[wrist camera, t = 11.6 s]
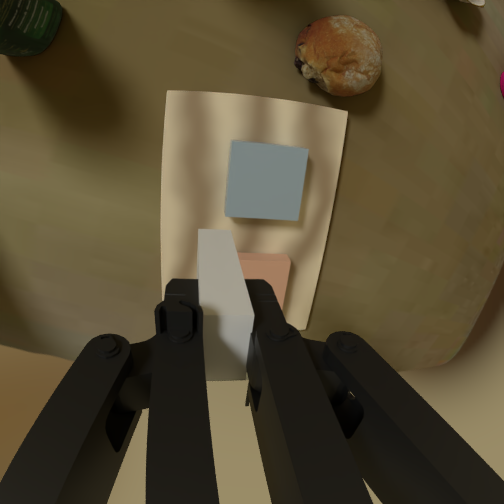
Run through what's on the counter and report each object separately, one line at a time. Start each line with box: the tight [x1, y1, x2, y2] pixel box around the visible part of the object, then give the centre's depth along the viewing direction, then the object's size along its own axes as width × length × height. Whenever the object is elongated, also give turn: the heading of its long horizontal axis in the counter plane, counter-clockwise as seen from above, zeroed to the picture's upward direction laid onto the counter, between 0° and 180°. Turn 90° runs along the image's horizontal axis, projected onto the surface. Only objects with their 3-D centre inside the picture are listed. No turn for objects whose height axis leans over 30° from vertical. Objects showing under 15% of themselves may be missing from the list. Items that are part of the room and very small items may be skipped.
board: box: [161, 90, 348, 330], centre depth 37 cm, size 20×30×1 cm, turn 174°
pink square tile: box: [237, 252, 291, 310], centre depth 38 cm, size 2×8×8 cm
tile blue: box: [224, 139, 309, 221], centre depth 33 cm, size 2×8×8 cm
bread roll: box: [294, 15, 382, 97], centre depth 28 cm, size 10×10×8 cm
